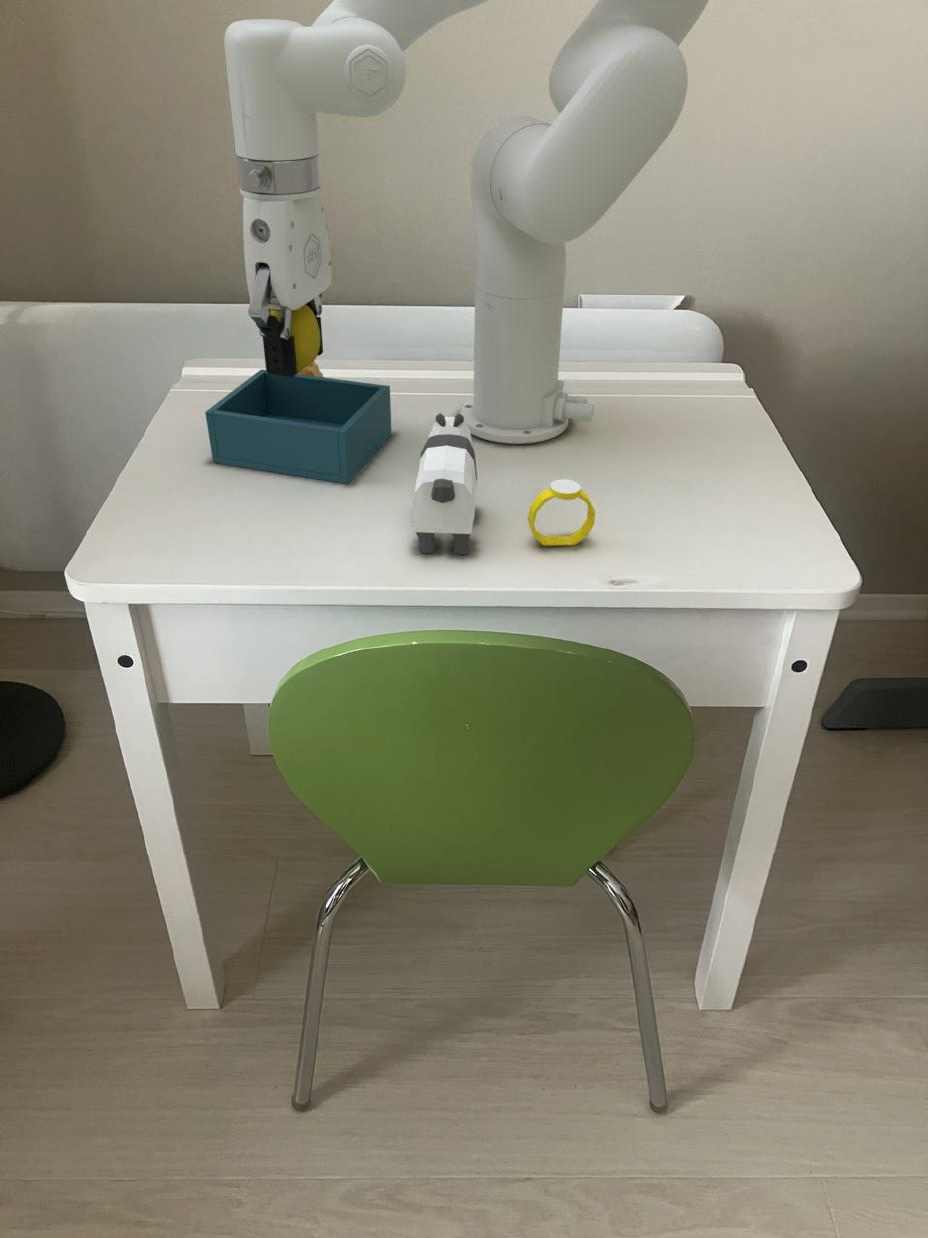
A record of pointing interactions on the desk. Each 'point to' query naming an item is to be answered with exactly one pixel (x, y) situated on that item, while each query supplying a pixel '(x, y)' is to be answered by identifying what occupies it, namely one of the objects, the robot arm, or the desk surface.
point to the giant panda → (446, 485)
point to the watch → (564, 492)
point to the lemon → (303, 335)
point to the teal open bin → (300, 425)
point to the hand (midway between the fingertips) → (295, 361)
